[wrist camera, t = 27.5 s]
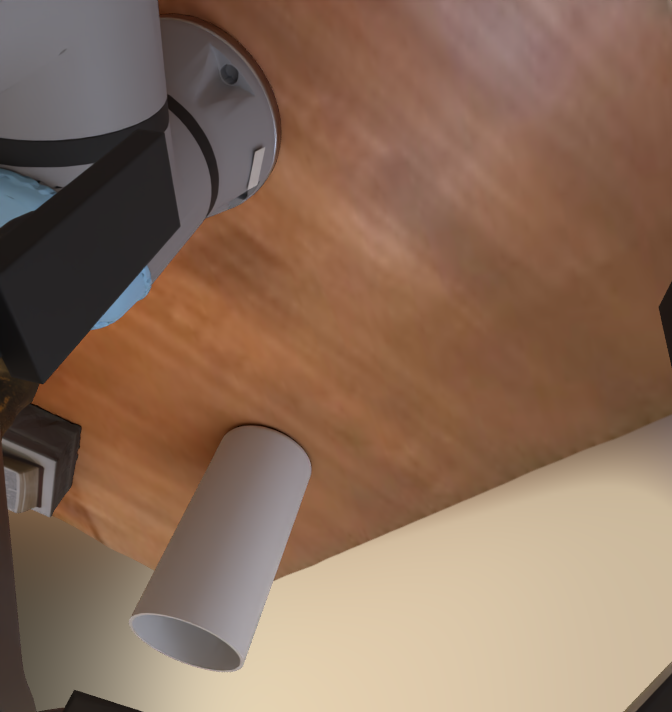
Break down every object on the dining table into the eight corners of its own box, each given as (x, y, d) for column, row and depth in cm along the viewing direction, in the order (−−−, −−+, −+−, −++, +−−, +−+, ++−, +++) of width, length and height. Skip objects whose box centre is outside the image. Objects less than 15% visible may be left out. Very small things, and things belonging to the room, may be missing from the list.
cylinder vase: (208, 421, 77) (107, 606, 60) (296, 422, 73) (214, 622, 55) (243, 482, 85) (162, 661, 67) (324, 486, 80) (260, 679, 63)
